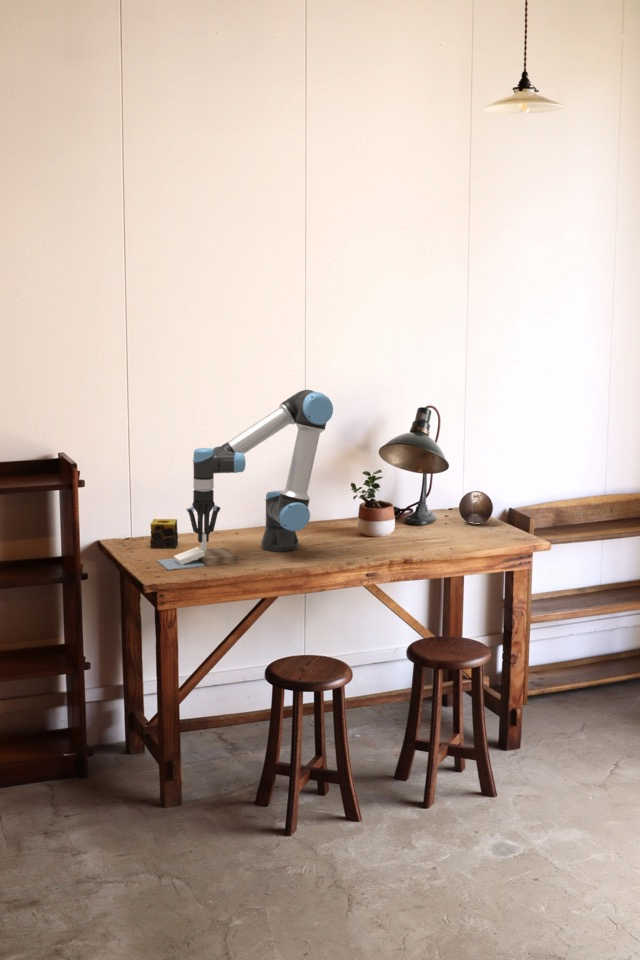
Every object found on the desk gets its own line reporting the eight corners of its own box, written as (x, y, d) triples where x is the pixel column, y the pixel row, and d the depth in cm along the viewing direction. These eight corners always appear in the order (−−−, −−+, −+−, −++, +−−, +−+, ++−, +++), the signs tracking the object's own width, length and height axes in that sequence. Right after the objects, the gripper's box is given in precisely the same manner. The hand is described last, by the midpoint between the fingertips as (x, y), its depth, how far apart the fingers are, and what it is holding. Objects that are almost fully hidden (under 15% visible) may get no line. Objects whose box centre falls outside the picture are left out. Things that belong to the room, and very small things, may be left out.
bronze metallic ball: (462, 528, 467) (463, 494, 464) (455, 520, 481) (456, 488, 479) (495, 527, 468) (497, 494, 465) (487, 520, 483) (489, 488, 480)
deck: (224, 554, 414) (224, 547, 413) (236, 563, 401) (236, 555, 401) (194, 557, 409) (194, 550, 408) (206, 566, 396) (206, 558, 396)
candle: (175, 548, 422) (175, 524, 420) (150, 548, 422) (149, 524, 420) (178, 542, 432) (178, 518, 430) (153, 542, 432) (153, 518, 430)
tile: (199, 551, 405) (197, 546, 405) (205, 555, 399) (203, 550, 398) (175, 560, 402) (173, 556, 401) (180, 565, 395) (179, 560, 395)
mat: (193, 557, 408) (193, 556, 408) (205, 566, 396) (205, 565, 396) (157, 561, 402) (157, 560, 402) (168, 570, 390) (168, 569, 390)
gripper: (216, 486, 404) (216, 546, 408) (183, 488, 399) (183, 549, 403) (223, 490, 397) (222, 551, 402) (190, 492, 392) (190, 554, 396)
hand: (203, 550), depth 402 cm, fingers closed
